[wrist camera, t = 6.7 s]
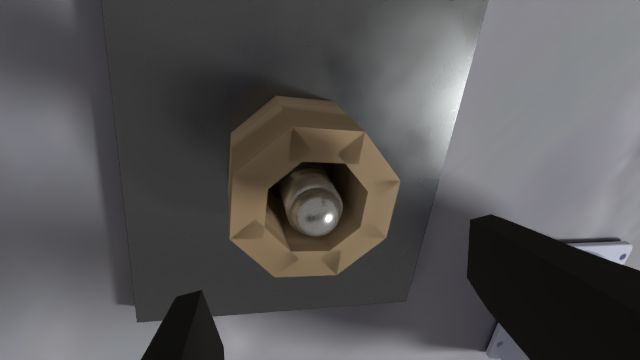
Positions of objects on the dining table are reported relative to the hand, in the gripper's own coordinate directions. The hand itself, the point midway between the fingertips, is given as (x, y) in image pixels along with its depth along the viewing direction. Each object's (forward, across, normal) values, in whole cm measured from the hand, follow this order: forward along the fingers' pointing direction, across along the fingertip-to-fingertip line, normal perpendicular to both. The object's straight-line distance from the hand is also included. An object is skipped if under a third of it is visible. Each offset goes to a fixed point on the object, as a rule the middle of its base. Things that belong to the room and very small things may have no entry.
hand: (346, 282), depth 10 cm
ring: (+7, 0, 0) cm, 7 cm away
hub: (+8, 0, 0) cm, 8 cm away
